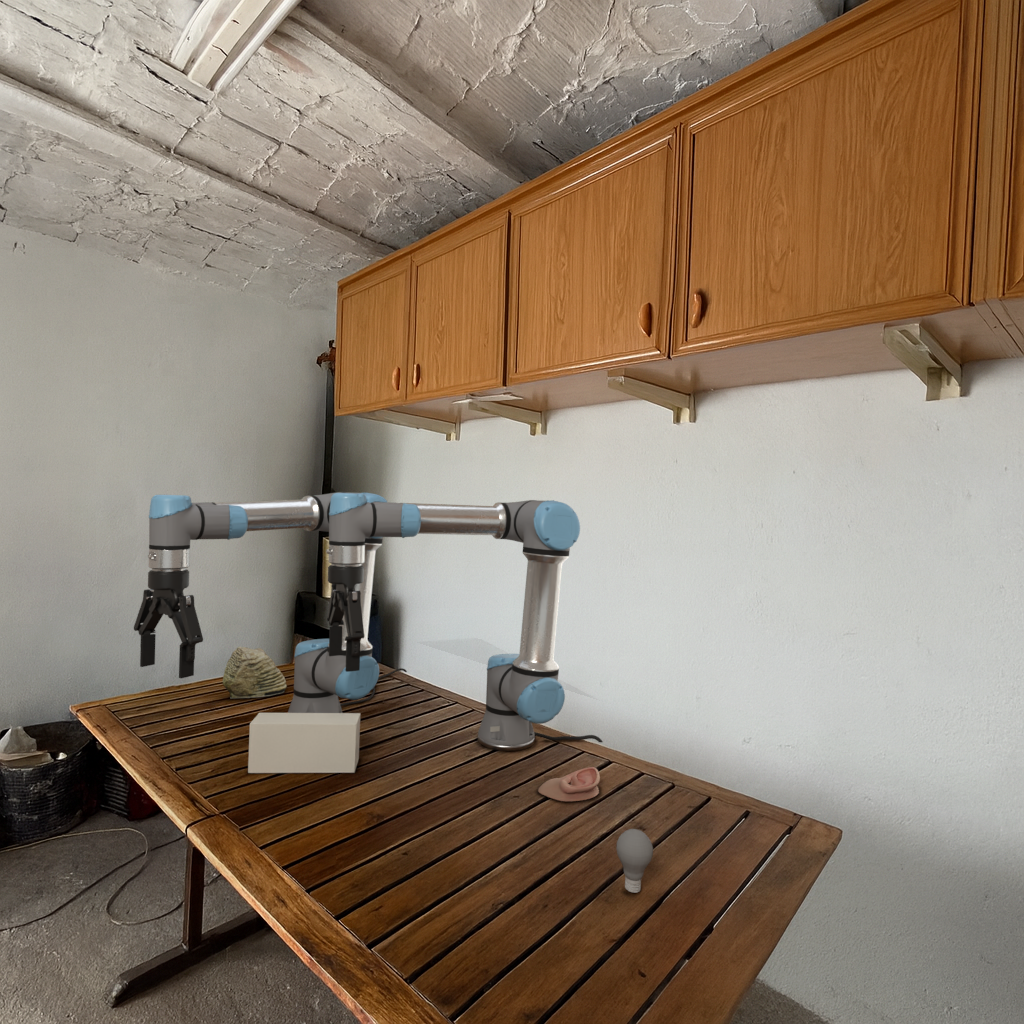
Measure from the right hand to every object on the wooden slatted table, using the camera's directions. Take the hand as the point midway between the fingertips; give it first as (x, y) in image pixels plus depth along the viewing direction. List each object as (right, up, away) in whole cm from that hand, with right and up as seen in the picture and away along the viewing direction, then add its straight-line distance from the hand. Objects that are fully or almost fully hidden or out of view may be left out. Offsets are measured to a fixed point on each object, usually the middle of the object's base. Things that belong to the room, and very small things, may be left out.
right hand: (343, 662), depth 136 cm
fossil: (-44, -25, +62) cm, 80 cm away
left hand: (-35, -1, -5) cm, 36 cm away
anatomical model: (+49, -30, +5) cm, 58 cm away
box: (-12, -27, +12) cm, 32 cm away
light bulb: (+57, -31, -31) cm, 71 cm away
